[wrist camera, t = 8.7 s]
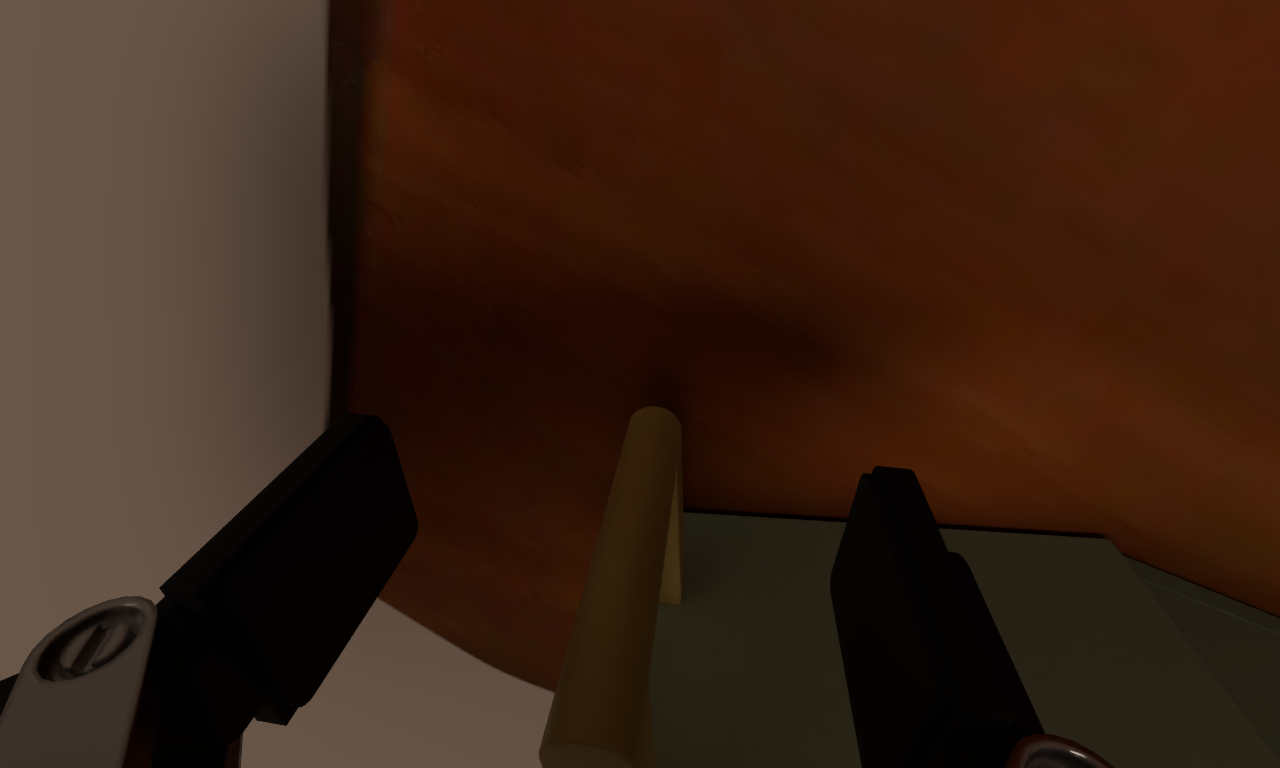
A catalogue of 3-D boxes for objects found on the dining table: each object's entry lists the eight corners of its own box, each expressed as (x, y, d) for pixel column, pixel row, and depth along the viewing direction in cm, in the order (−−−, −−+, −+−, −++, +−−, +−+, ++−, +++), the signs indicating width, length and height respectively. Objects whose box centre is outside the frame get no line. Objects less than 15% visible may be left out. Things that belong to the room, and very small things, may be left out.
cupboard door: (597, 357, 16) (392, 837, 6) (1208, 369, 14) (2404, 1181, 4) (618, 526, 20) (507, 989, 10) (1098, 559, 17) (1564, 1214, 8)
